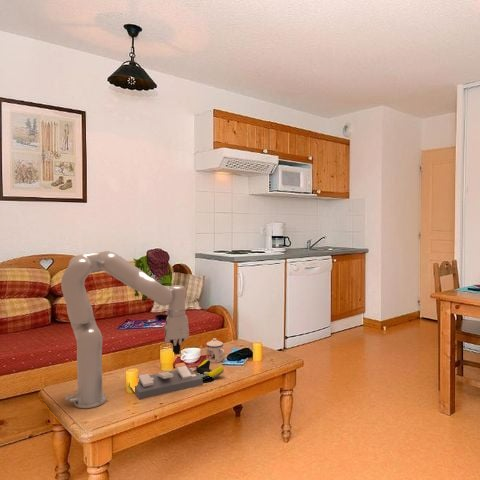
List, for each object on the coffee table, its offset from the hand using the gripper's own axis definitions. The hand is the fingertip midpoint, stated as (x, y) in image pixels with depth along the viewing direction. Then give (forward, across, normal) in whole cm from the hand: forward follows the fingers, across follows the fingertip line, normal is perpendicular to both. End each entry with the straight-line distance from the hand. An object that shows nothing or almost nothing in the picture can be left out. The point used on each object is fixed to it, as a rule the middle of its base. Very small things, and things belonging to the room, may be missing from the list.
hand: (176, 353), depth 183 cm
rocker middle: (+10, -5, +2) cm, 11 cm away
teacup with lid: (+14, +30, +20) cm, 39 cm away
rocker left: (+10, -14, +2) cm, 17 cm away
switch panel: (+15, -4, +2) cm, 15 cm away
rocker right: (+10, +4, +2) cm, 11 cm away
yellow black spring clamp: (+15, +17, +3) cm, 23 cm away
